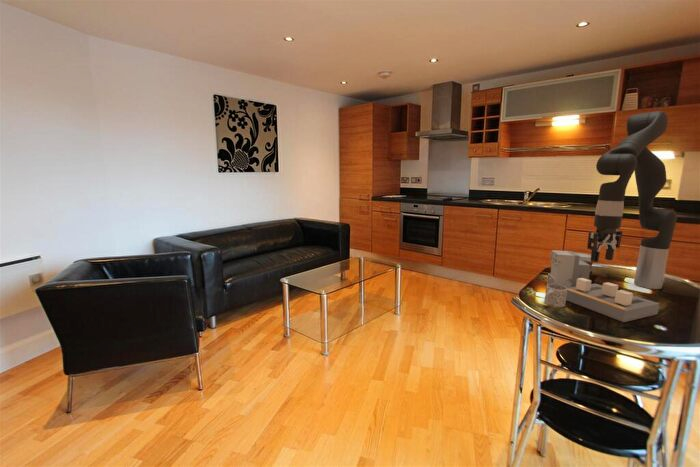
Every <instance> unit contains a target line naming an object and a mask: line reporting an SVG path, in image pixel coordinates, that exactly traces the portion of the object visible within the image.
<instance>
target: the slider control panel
mask: <svg viewBox="0 0 700 467" xmlns="http://www.w3.org/2000/svg"><path fill="white" fill-rule="evenodd" d="M602 287H603V284H599V283H591V288H590V291H586V292H584V291H581V290H578V289H576V286H575V287H571V288H567V296H566V302H570V303H573V304H575V305H578V306H581V307H583V308H586V309H589V310H591V311H594V312H596V313H599V314H602V315H604V316H607V317H609V318H611V319H614V320H616V321H620V322H622V323H626V322H630V321H631V322H632V321H634V320H638V319H639V320H640V319H643V318H647V317H648V318H649V317H652V316H656V315H658V313H659V308H660V304H661V303H659V302H656V301H653V300H649V299H646V298H643V297H640V296H637V295H634V294H633V297H632V302H631V305H626V306H625V305H622V304H619V303H616V302H614V301H615V296H613V297H610V296H607V295H604V294H601V293H602Z"/></svg>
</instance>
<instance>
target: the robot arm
mask: <svg viewBox="0 0 700 467" xmlns="http://www.w3.org/2000/svg"><path fill="white" fill-rule="evenodd" d="M668 122H669V121H668V115H667V113H666V112H665V111H664V110H654V111H649V112H648V111H647V112H644V113H643V112H642V113H637V114H632V115H630V116H629V117H628V119H627V121H626V134H627V136H626V137H624V138H623V139H622V140H621V141H620V142H619V143H618V145H617V146H616V147H614V148H612V149H610V150H608V151H606V152H604V153H603V154H602V155H601V156H600V157H599V158H598V160H597V162H596V165H595V166H596V167H595V168H596V171H597V172H598V174H600V175H602V176H619V177H618V178H617V179H616V180H615V181H609V182H608V181H607V182H604V183H602V184H600V187H599V192H598V193H599V194H598V199H597V204H596V207H595V214H594V220H593V226H594V227H595V228H596V230H595V232H591V231H589V233H588V238H587V247H586V249H587V250H590V251H591V254H590V255H591V261H593V263H598V262H599V261H600V260H599V259H600V254H601V252H600V251H601V249H602V248H603V247H606V250H605V255H604V259H605V260H607V261H612V260H613V259H614V255H615V251H616V249H619V248H620V246H621V242H622V236H623V231H622V230H618V229H621V227H622V221H623V215H624V208H625V206H624V204H625V202H624V201H625V197H626V191H627V187H628V184H629V182H630V180H631V178H632V175H633V174H634V177H635V185H636V188H637V195H638V196H637V197H638V217H639V218H638V220H639V224H640V227H641V228H642V229H644V230H647V231H654V232H655V231H656V232H658V233H657V235H655V236H651V237H646V238H645V237H643V238H642V239H641V241H640V246H639V251H638V257H637V264H636V269H635V275H634V279H633V280H634V281H633V285H636V286H638V287H642V288H646V289H651V290H653V289H654V290H659V289H662V288H663V284H664V279H665V274H666V268H667V261H668V256H669V251H670V246H671V242H672V240H673V237H674V236H673V235H674V233H675V232H674V231H675V228H676V225H677V219H678V217H677V216H678V215H677V213H676V211H675V210H671V209H665V208H655V207H654V200H655V198H656V196H657V195H658V194H659V193H660V192H661V191H662V189H663V188H664V187H665V185H666V183H667V171H666V165H665V164H664V162H663V161H662V159H660V158H659V157H658V156H657V155H656V154H655V153H653V152H652V151H651V150H650V149H649V147H648V146H649V145H650V144H652V143H653V142H655V141H656V140H657V139H658V138H660V137H661V136H662V135H664V133H665V132H666V130H667V128H668Z"/></svg>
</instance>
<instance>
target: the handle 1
mask: <svg viewBox="0 0 700 467" xmlns="http://www.w3.org/2000/svg"><path fill="white" fill-rule="evenodd" d="M591 284H592V280H591V279H589V280H588V279H585V278H578V279H577V282H576V285H575V287H576V289H578V290H581V291H584V292H586V291H590V288H591Z"/></svg>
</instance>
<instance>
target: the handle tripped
mask: <svg viewBox="0 0 700 467" xmlns="http://www.w3.org/2000/svg"><path fill="white" fill-rule="evenodd" d="M602 286H603V287H602V293H601V294H604V295H607V296H610V297H613V296H615V295H616V291H618V290H619V284H615V283H611V282H608V281H607V282H603V283H602Z"/></svg>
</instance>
